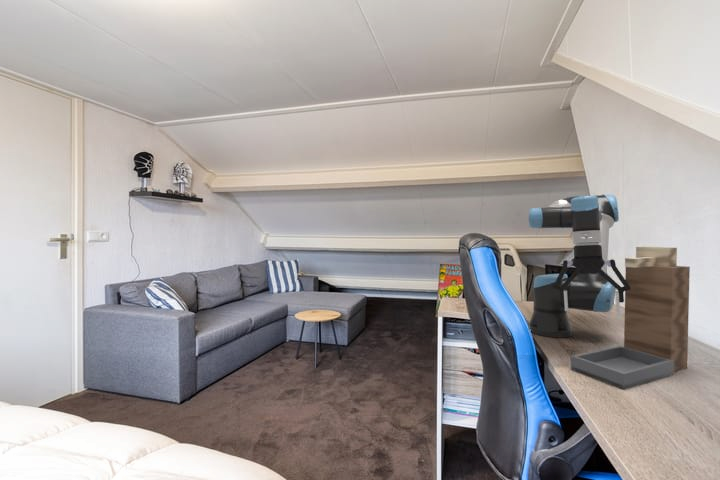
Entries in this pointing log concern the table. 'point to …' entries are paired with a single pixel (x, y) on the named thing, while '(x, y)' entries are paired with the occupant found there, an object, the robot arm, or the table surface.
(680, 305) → the plinth
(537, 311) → the robot arm
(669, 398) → the table surface
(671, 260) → the mallet
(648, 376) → the tray
